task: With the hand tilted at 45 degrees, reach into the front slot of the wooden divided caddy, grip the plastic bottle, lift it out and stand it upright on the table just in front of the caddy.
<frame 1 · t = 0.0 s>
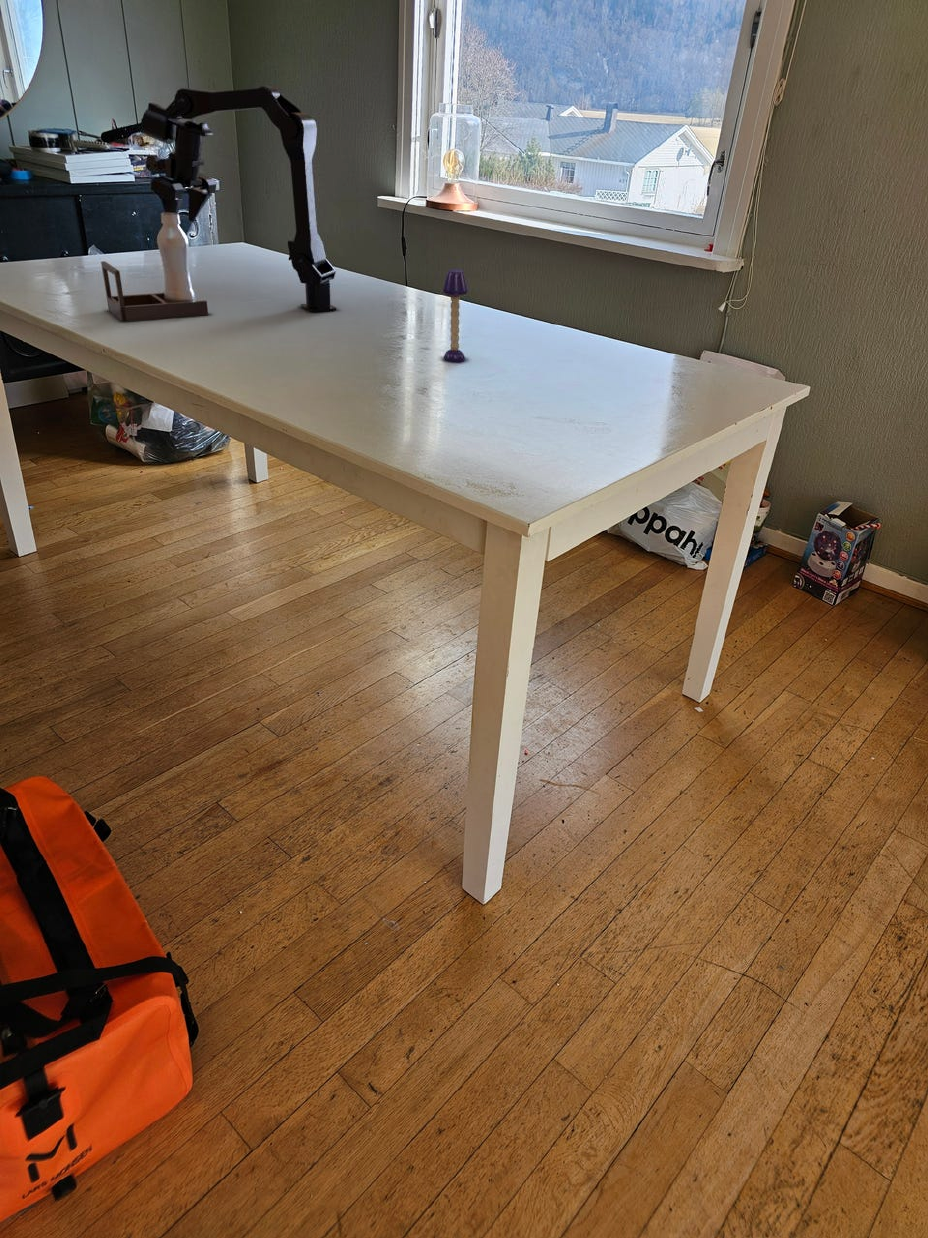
hand: (180, 223, 200), 15 cm above the table, tool pointing down, fingers open, 9 cm apart
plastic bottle: (181, 311, 192), resting in wooden divided caddy
wooden divided caddy: (158, 312, 189), on the table
toy lamp: (452, 360, 170), on the table
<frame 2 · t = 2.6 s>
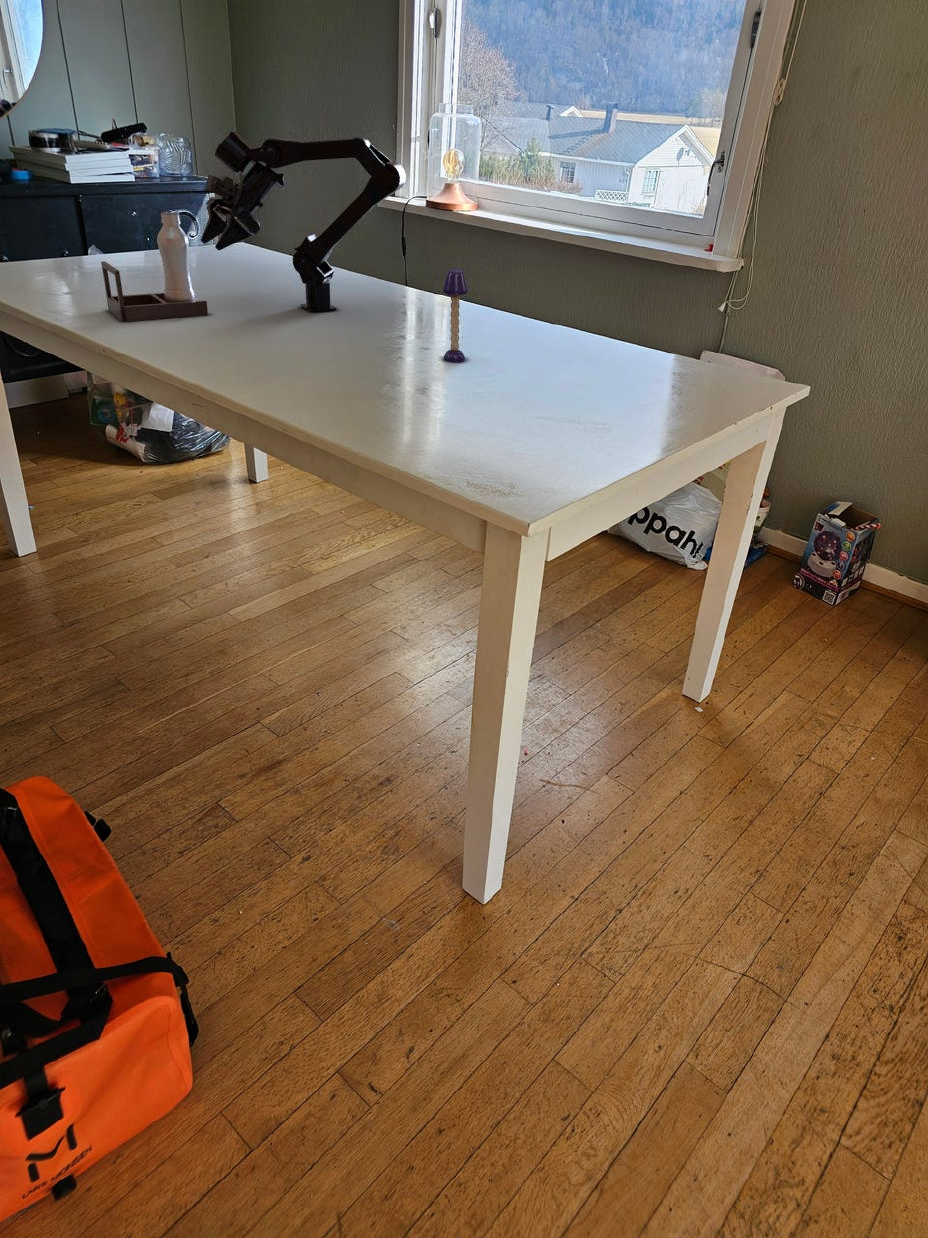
hand: (209, 245, 189), 13 cm above the table, tool tilted 45°, fingers open, 9 cm apart
nothing on the table moved.
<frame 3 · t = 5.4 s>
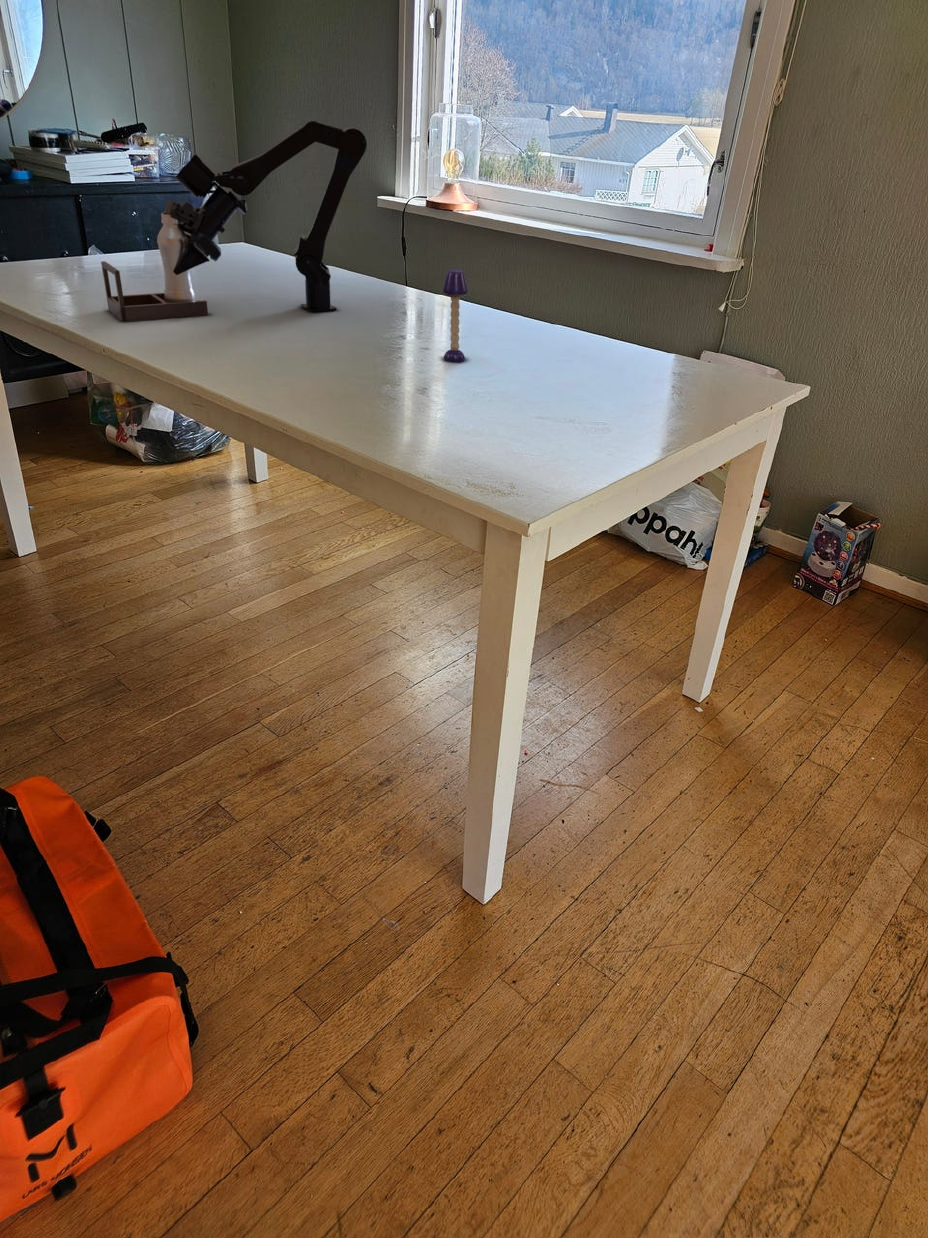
hand: (170, 270, 186), 9 cm above the table, tool tilted 45°, fingers closed on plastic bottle, 6 cm apart
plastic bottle: (181, 311, 192), resting in wooden divided caddy, touching gripper
everything else where it was.
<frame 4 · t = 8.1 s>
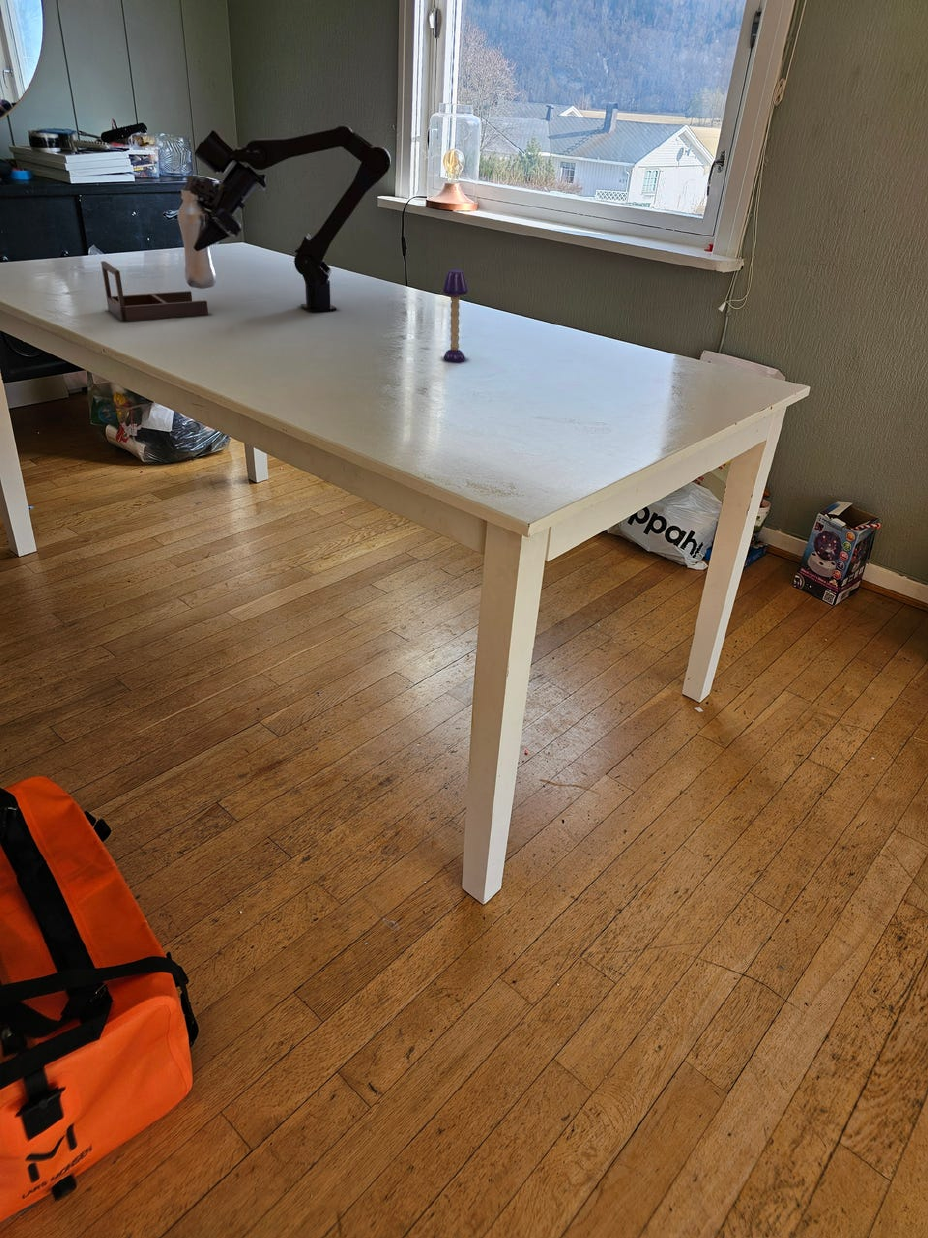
hand: (190, 247, 186), 13 cm above the table, tool tilted 45°, fingers closed on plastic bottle, 6 cm apart
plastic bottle: (201, 288, 192), point 4 cm above the table, touching gripper
everything else where it was.
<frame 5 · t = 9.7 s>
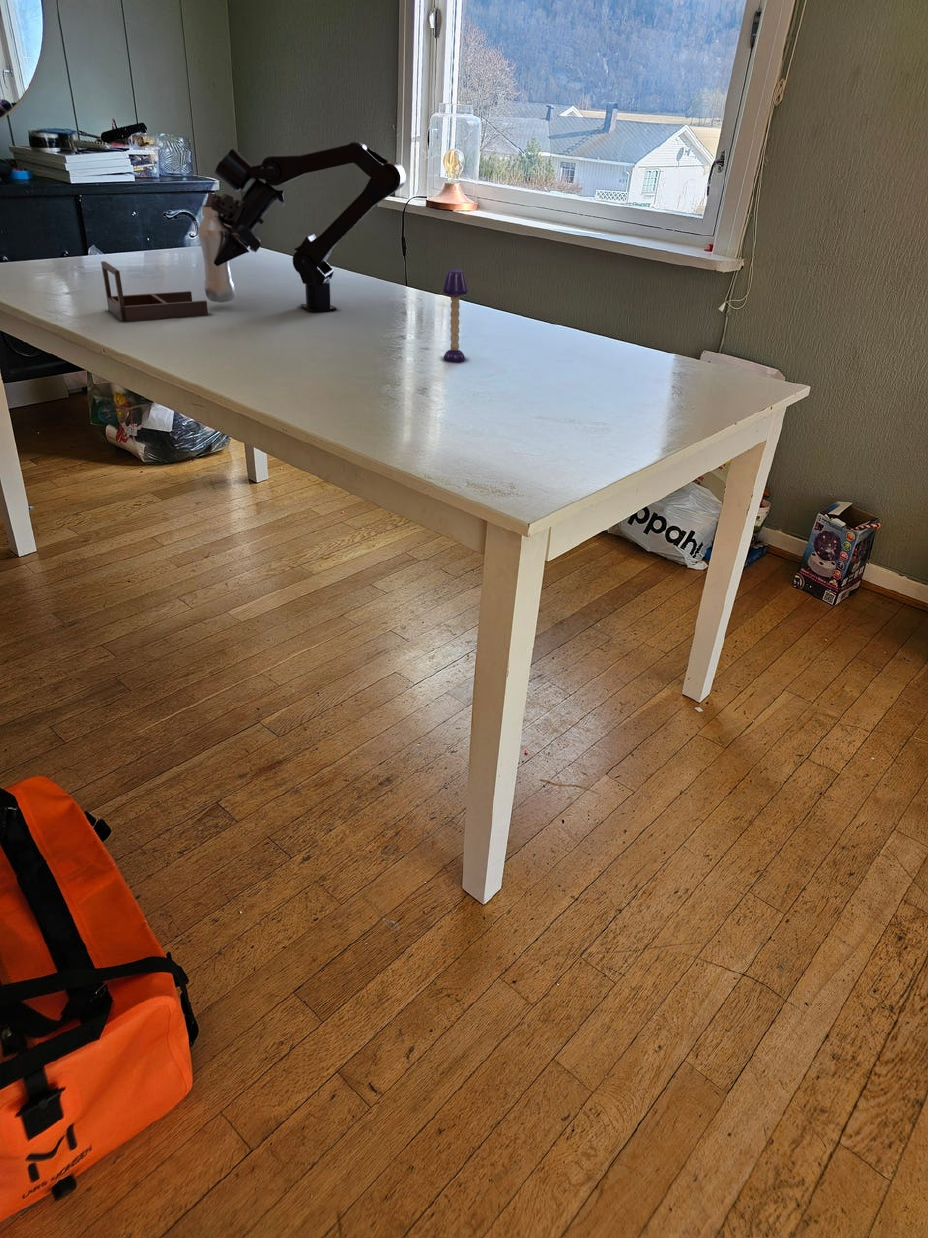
hand: (210, 262, 190), 10 cm above the table, tool tilted 45°, fingers closed on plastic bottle, 5 cm apart
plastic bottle: (221, 302, 196), point 1 cm above the table, touching gripper
everything else where it was.
when the fingers open (9 cm above the table, at t = 10.7 s): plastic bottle stays where it is, on the table.
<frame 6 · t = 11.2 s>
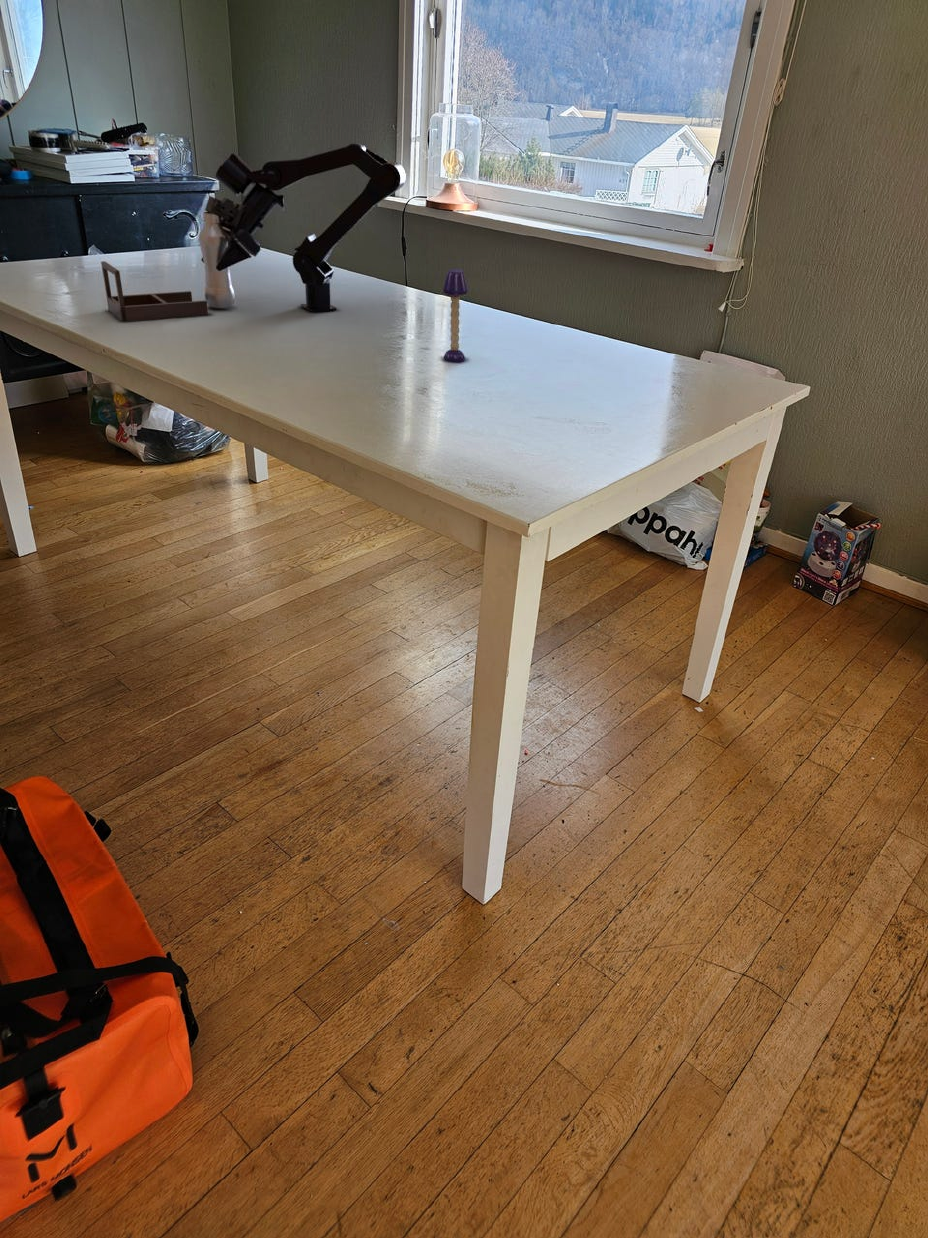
hand: (210, 265, 191), 9 cm above the table, tool tilted 45°, fingers open, 9 cm apart
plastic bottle: (221, 308, 197), on the table
everything else where it was.
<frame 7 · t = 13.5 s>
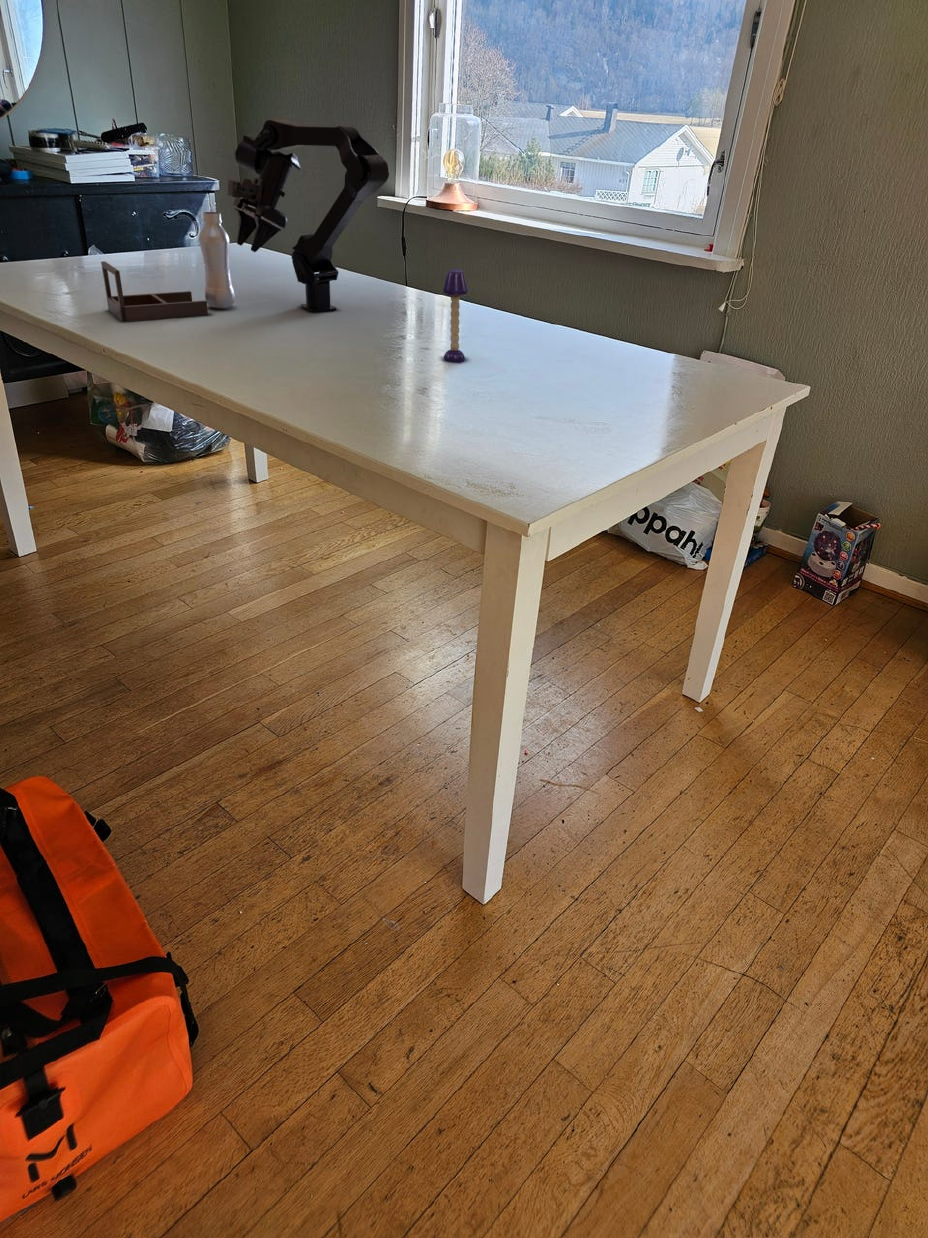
hand: (245, 247, 195), 12 cm above the table, tool tilted 30°, fingers open, 9 cm apart
nothing on the table moved.
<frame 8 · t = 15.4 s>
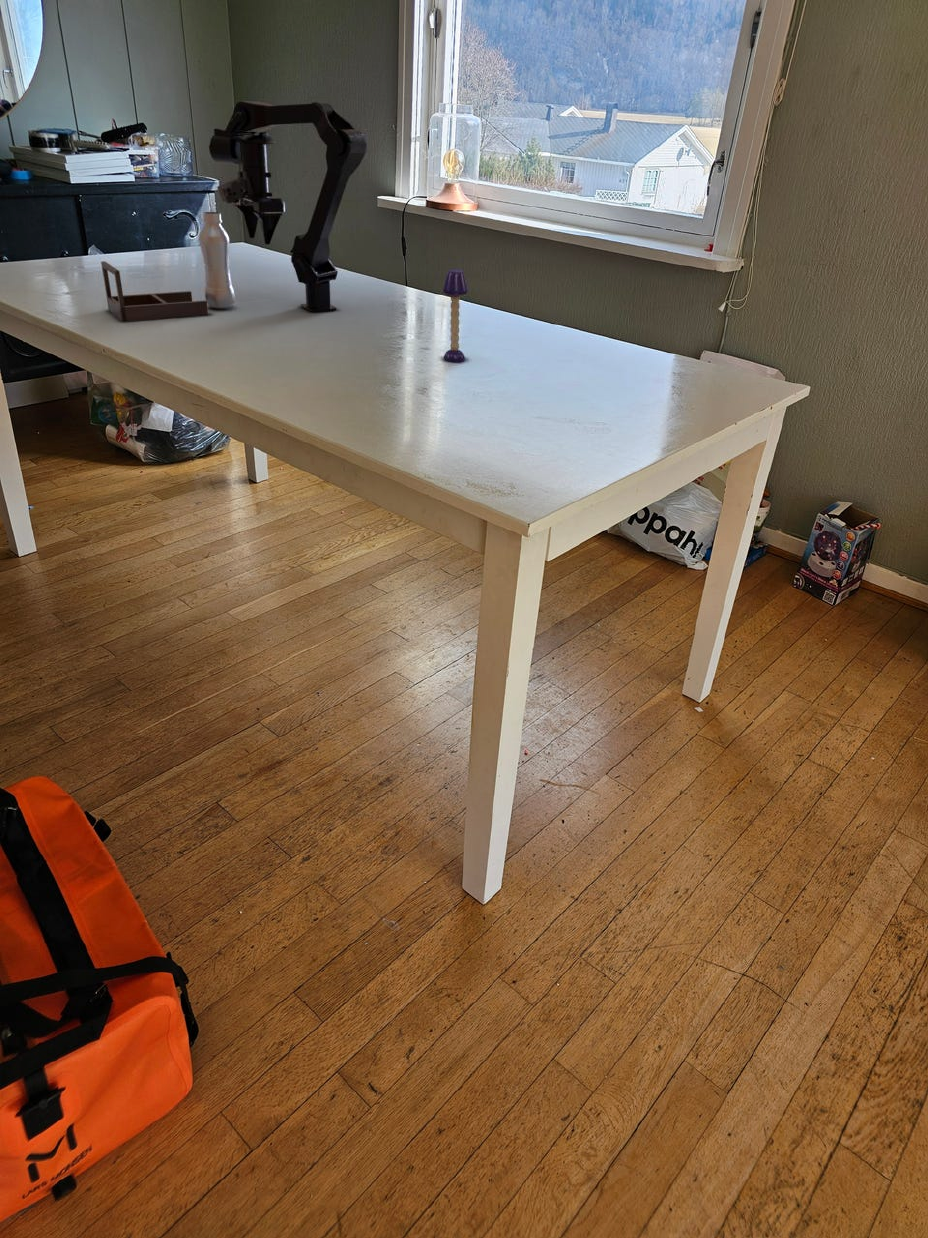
hand: (259, 240, 200), 13 cm above the table, tool pointing down, fingers open, 9 cm apart
nothing on the table moved.
at the end: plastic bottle inside the target area (0.2 cm from its centre), on the table; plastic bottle tilted 0°; the gripper is holding nothing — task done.
